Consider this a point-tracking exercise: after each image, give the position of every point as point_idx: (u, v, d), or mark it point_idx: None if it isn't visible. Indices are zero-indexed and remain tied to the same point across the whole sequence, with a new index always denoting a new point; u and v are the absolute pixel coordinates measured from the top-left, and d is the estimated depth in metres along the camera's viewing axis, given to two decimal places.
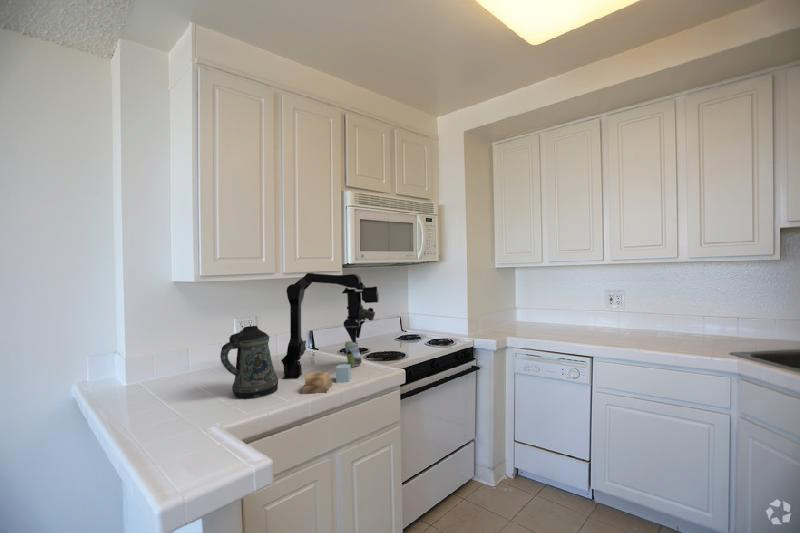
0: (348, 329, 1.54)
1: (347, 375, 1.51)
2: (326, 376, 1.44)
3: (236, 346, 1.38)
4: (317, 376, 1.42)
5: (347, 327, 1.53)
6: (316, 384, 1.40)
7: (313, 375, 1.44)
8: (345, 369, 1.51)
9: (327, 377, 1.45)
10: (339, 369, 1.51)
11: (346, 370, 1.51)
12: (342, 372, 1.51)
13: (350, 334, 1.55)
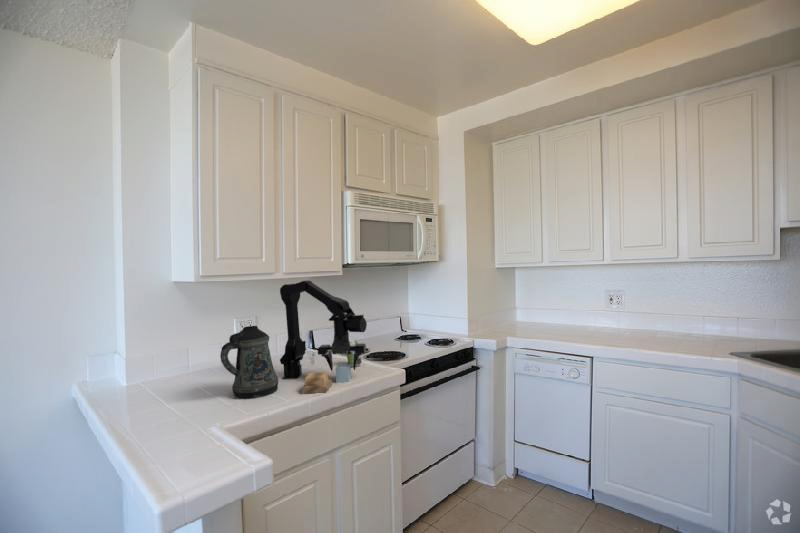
0: None
1: (347, 375, 1.51)
2: (326, 376, 1.44)
3: (236, 346, 1.38)
4: (317, 376, 1.42)
5: None
6: (316, 384, 1.40)
7: (313, 375, 1.44)
8: (345, 369, 1.51)
9: (327, 376, 1.46)
10: (339, 369, 1.51)
11: (346, 370, 1.51)
12: (342, 372, 1.51)
13: None
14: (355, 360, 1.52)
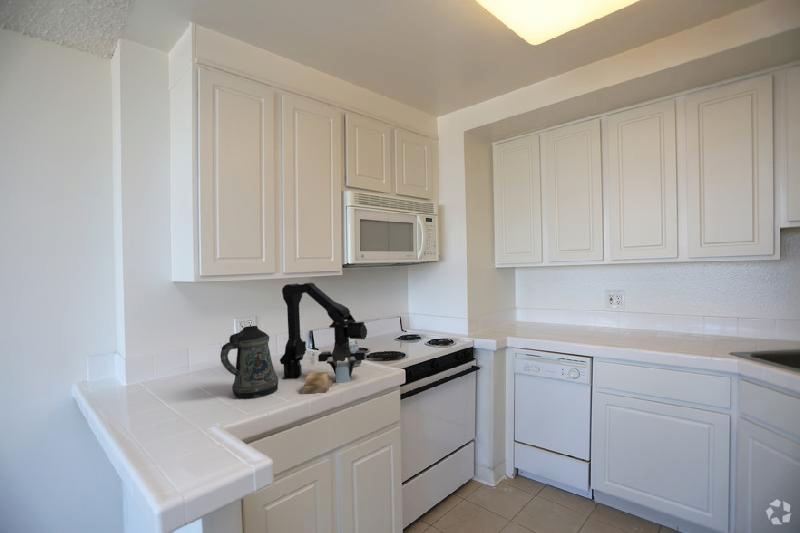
0: None
1: (347, 375, 1.51)
2: (326, 376, 1.44)
3: (236, 346, 1.38)
4: (318, 376, 1.42)
5: None
6: (317, 383, 1.41)
7: (313, 375, 1.44)
8: (345, 369, 1.51)
9: (327, 376, 1.46)
10: (339, 369, 1.51)
11: (346, 370, 1.51)
12: (342, 372, 1.51)
13: None
14: (351, 367, 1.52)
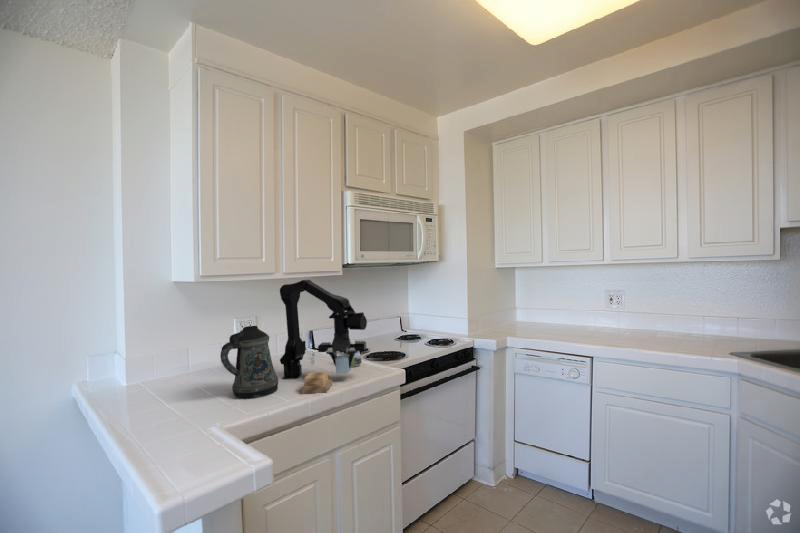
0: None
1: (347, 366, 1.51)
2: (325, 376, 1.44)
3: (236, 346, 1.38)
4: (316, 376, 1.42)
5: None
6: (315, 384, 1.40)
7: (312, 375, 1.44)
8: (345, 360, 1.51)
9: (326, 377, 1.45)
10: (339, 360, 1.51)
11: (346, 361, 1.50)
12: (342, 363, 1.51)
13: None
14: (351, 358, 1.52)
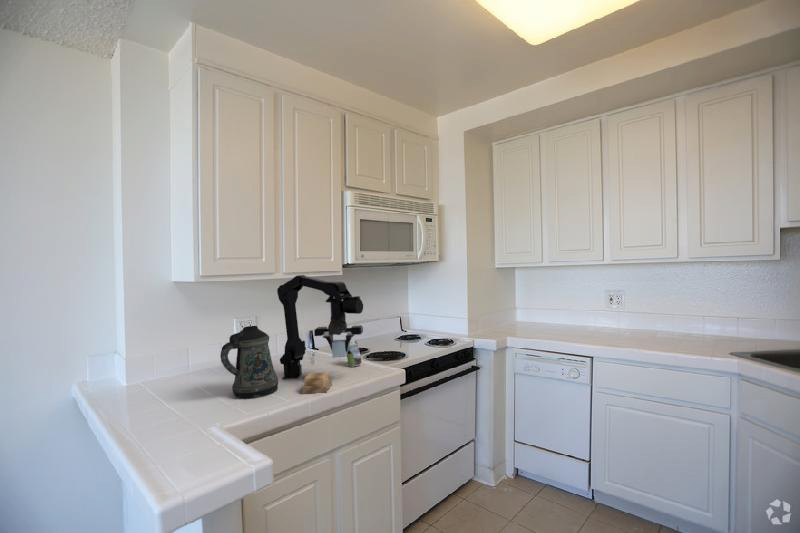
0: None
1: (343, 349, 1.50)
2: (326, 376, 1.44)
3: (236, 346, 1.38)
4: (317, 376, 1.42)
5: None
6: (315, 384, 1.40)
7: (313, 375, 1.44)
8: (341, 343, 1.50)
9: (327, 377, 1.45)
10: (335, 343, 1.50)
11: (342, 344, 1.50)
12: (338, 346, 1.50)
13: None
14: (347, 342, 1.51)
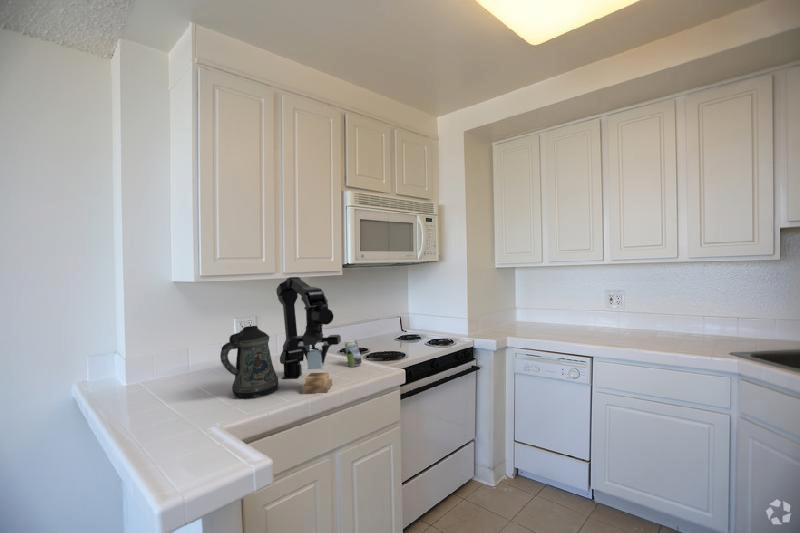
0: None
1: (319, 361, 1.41)
2: (326, 376, 1.44)
3: (236, 346, 1.38)
4: (317, 376, 1.42)
5: None
6: (316, 384, 1.40)
7: (313, 375, 1.43)
8: (317, 354, 1.41)
9: (327, 377, 1.45)
10: (311, 354, 1.41)
11: (318, 355, 1.41)
12: (314, 357, 1.41)
13: None
14: (323, 352, 1.42)
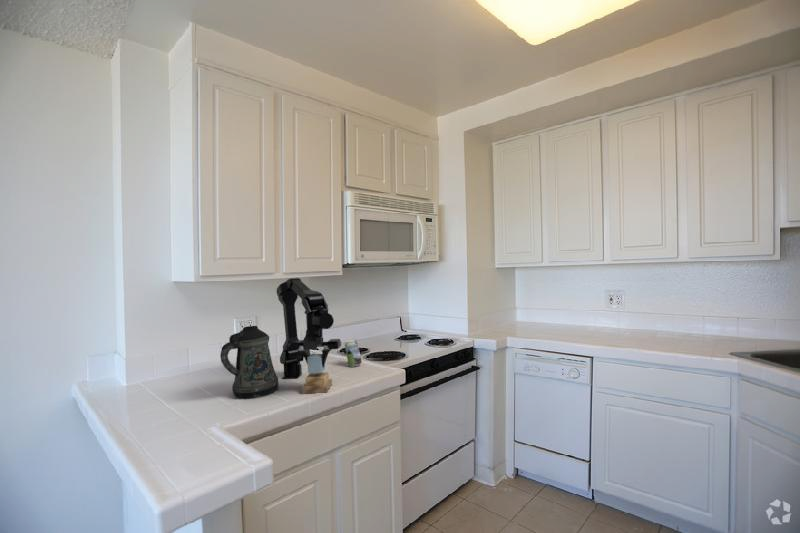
0: None
1: (319, 365, 1.41)
2: (326, 376, 1.44)
3: (236, 346, 1.38)
4: (317, 376, 1.42)
5: None
6: (316, 384, 1.40)
7: (313, 375, 1.43)
8: (317, 358, 1.41)
9: (327, 377, 1.45)
10: (311, 358, 1.41)
11: (318, 360, 1.41)
12: (314, 362, 1.41)
13: None
14: (324, 357, 1.42)
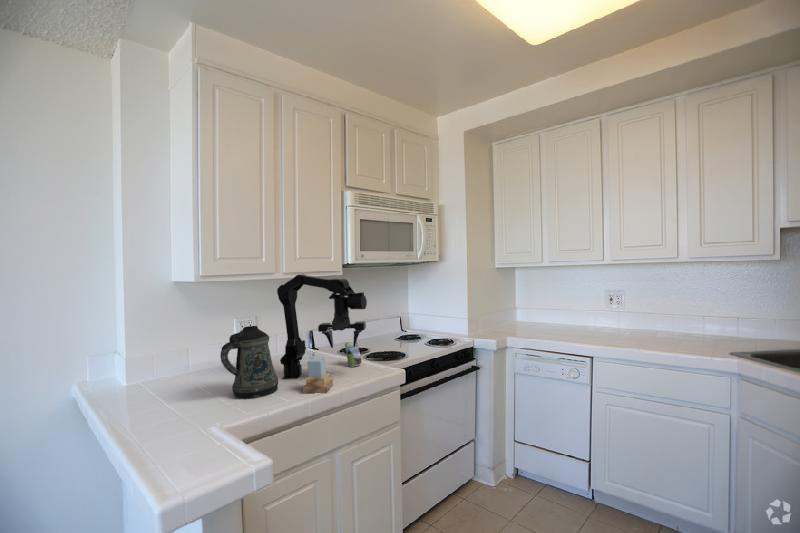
0: None
1: (319, 369, 1.41)
2: (327, 377, 1.43)
3: (236, 346, 1.38)
4: None
5: None
6: (317, 384, 1.40)
7: None
8: (317, 363, 1.41)
9: (328, 377, 1.45)
10: (311, 363, 1.41)
11: (318, 364, 1.41)
12: (314, 366, 1.41)
13: None
14: (355, 337, 1.53)
